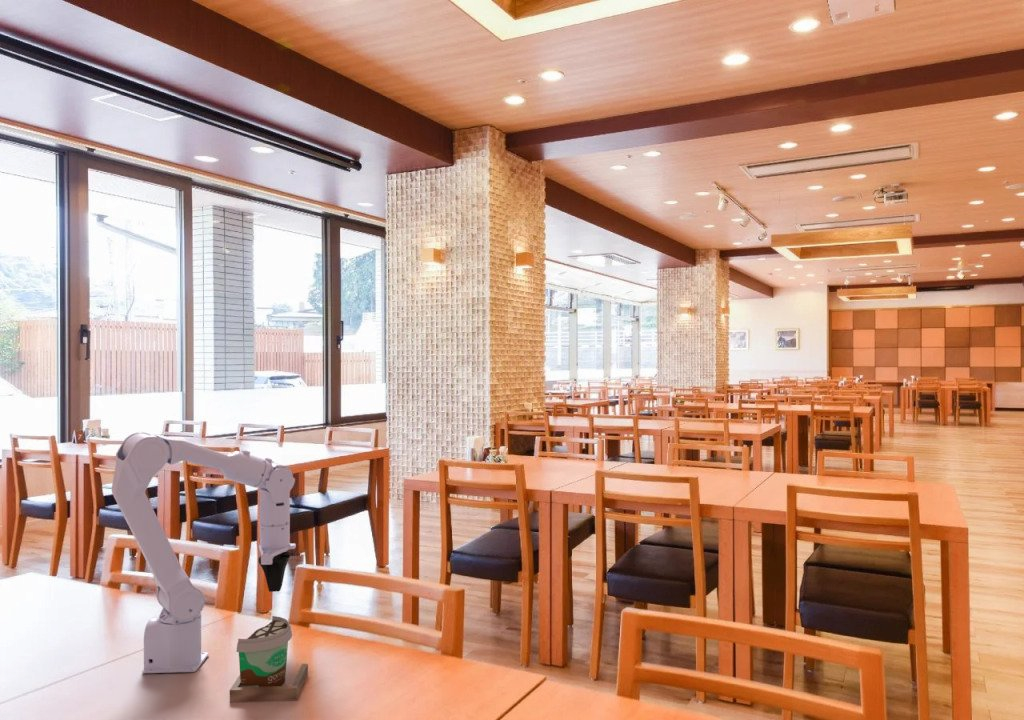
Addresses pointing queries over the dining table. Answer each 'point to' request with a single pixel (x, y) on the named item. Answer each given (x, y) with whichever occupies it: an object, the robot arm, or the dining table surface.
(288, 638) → the food container
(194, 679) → the dining table surface
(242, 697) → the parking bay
